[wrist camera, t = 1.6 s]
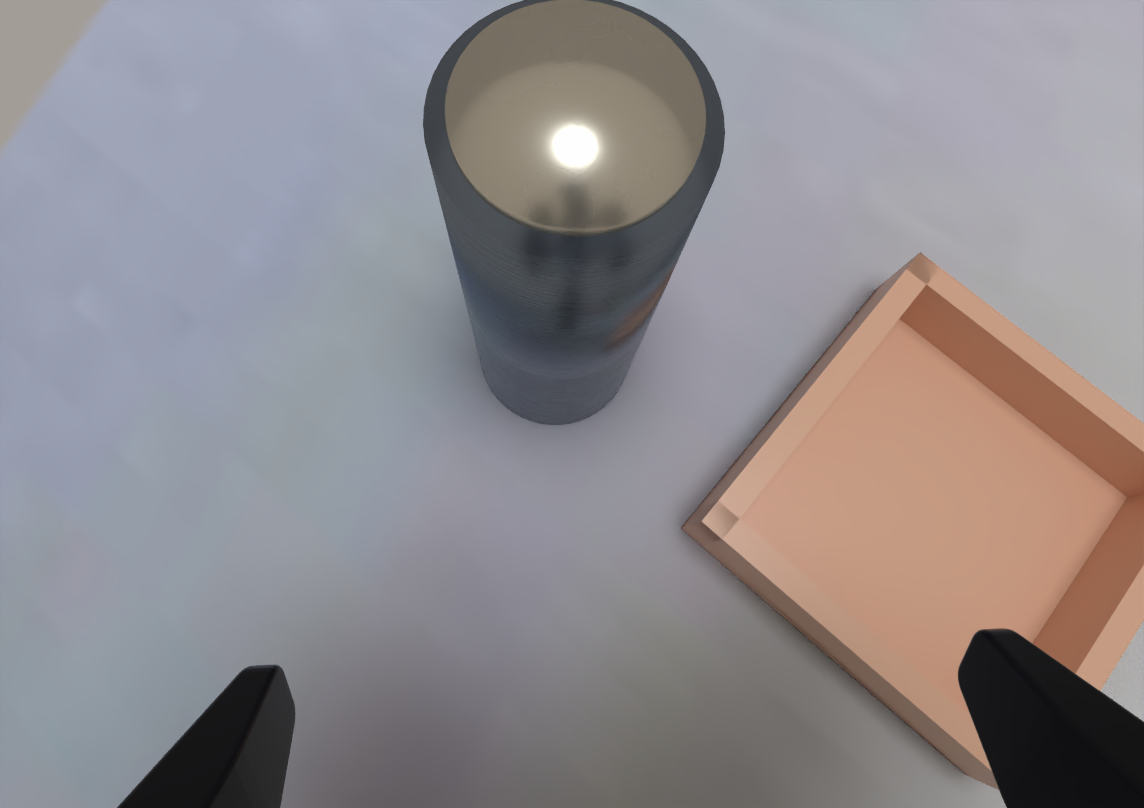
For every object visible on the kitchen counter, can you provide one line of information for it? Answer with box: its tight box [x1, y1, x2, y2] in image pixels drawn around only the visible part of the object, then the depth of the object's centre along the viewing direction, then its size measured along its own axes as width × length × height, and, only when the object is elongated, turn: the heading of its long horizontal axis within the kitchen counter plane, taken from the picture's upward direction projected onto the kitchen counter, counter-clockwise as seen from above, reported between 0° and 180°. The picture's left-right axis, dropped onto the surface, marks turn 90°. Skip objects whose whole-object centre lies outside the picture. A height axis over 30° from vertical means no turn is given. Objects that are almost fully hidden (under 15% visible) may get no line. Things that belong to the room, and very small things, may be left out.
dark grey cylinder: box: [423, 0, 725, 425], centre depth 18 cm, size 5×5×13 cm
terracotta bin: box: [681, 253, 1144, 790], centre depth 23 cm, size 12×12×3 cm
